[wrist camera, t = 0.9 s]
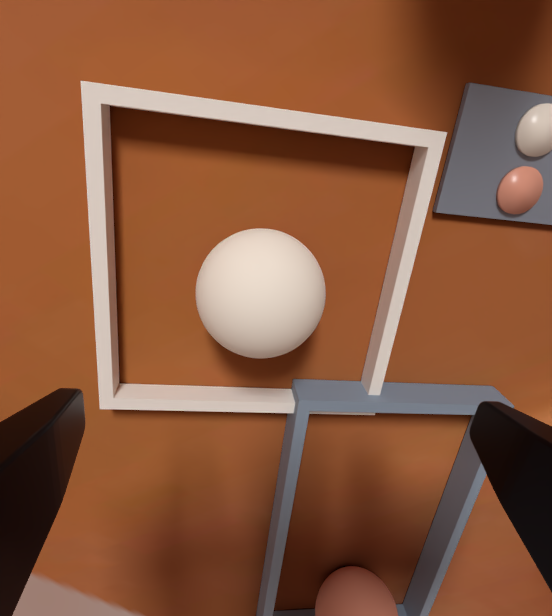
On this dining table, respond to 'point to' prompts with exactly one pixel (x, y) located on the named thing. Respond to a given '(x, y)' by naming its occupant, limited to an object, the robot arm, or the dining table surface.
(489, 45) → the dining table surface
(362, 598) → the ball terracotta
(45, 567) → the dining table surface
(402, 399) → the frame
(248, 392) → the frame
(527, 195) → the card
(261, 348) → the ball cream
